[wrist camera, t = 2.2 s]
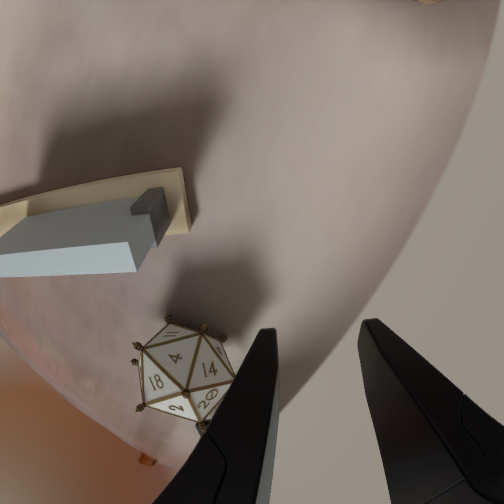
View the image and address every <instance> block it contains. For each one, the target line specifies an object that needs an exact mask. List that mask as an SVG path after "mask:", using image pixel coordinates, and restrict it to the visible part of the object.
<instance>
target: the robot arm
mask: <svg viewBox="0 0 504 504" xmlns="http://www.w3.org/2000/svg"><path fill="white" fill-rule="evenodd" d="M358 352H359V358H360V363H361V369H362V375H363V382H364V388H365V394H366V398H367V403H368V406H369V410H370V414H371V418H372V421H373V425H374V429H375V433H376V437H377V441H378V445H379V449H380V454H381V458H382V462H383V466H384V471H385V476H386V480H387V485H388V490H389V495H390V500H391V504H504V426H503V425H502V424H500V423H499V422H497V421H496V420H495V419H494V418H493V417H491V416H490V415H489V414H487V413H486V412H485V411H484V410H483V409H482V408H480V407H479V406H478V405H477V404H476V403H474V402H473V401H472V400H471V399H470V398H469V397H468V396H467V395H465V394H464V395H463V392H462V391H461V390H460V389H459V388H458V387H456V386H455V385H454V384H453V383H452V382H451V381H450V380H449V379H448V378H446V377H445V376H444V375H443V374H442V373H441V372H439V371H438V370H437V369H436V368H435V367H434V366H433V365H431V364H430V363H429V362H428V361H427V360H426V359H425V358H423V357H422V356H421V355H420V354H419V353H418V352H416V351H415V350H414V349H413V348H412V347H411V346H410V345H408V344H407V343H406V342H405V341H404V340H403V339H401V338H400V337H399V336H398V335H397V334H395V333H394V332H393V331H392V330H391V329H390V328H388V327H387V326H386V325H385V324H384V323H382V322H381V321H380V320H379V319H377V318H373V319H365V320H363V321H362V324H361V328H360V333H359V337H358ZM279 408H280V394H279V359H278V346H277V332H276V329H275V328H264V329H260V331H259V332H258V334H257V336H256V338H255V340H254V342H253V344H252V346H251V347H250V349H249V351H248V353H247V355H246V357H245V359H244V361H243V363H242V365H241V366H240V368H239V370H238V372H237V374H236V376H235V378H234V379H233V381H232V383H231V385H230V387H229V389H228V390H227V392H226V394H225V396H224V398H223V400H222V401H221V403H220V405H219V407H218V409H217V410H216V412H215V414H214V416H213V417H212V419H211V421H210V423H204V424H206V425H205V426H206V427H207V428H206V431H205V432H203V431H202V430H200V427H199V422H198V423H196V428H197V430H198V432H199V434H200V436H201V438H200V440H199V442H198V443H197V445H196V447H195V448H194V450H193V451H192V453H191V454H190V456H189V458H188V459H187V461H186V462H185V463H184V465H183V466H182V467H181V469H180V470H179V472H178V473H177V474H176V475H175V477H174V478H173V479H172V481H171V482H170V483H169V484H168V485H167V486H166V488H165V489H164V490H163V491H162V492H161V493H160V495H159V496H158V497H157V498H156V500H154V502H153V503H152V504H269V501H270V493H271V485H272V476H273V468H274V458H275V450H276V441H277V431H278V421H279Z"/></svg>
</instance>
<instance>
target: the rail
mask: <svg viewBox="0 0 504 504" xmlns="http://www.w3.org/2000/svg"><path fill="white" fill-rule="evenodd" d="M157 187H164V192H165V197H166V202H167V207H168V212H169V217H170V221H171V224H170V226H169V228H168V229H167V231H166V233H165V235H172V234H183V233H189V232H190V229H191V227H192V224H191V218H190V213H189V207H188V201H187V196H186V190H185V184H184V177H183V171H182V167H177V168H170V169H163V170H156V171H149V172H143V173H137V174H131V175H125V176H119V177H114V178H108V179H103V180H98V181H93V182H88V183H83V184H79V185H74V186H70V187H65V188H61V189H57V190H53V191H48V192H44V193H40V194H37V195H33V196H29V197H25V198H22V199H18V200H14V201H11V202H7V203H4V204H1V205H0V237H1V236H2V235H3V234H5V233H6V232H7V231H8V230H10V229H11V228H12V227H13V226H15V225H16V224H17V223H18V222H20V221H21V220H22V219H24V218H25V217H28V216H32V215H37V214H42V213H47V212H52V211H57V210H63V209H68V208H74V207H79V206H85V205H91V204H97V203H103V202H109V201H116V200H123V199H129V198H136V197H140V196H141V195H142V194H143V193H144V192H145V191H146V190H147V189H150V188H157Z"/></svg>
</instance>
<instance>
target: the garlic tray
mask: <svg viewBox="0 0 504 504" xmlns="http://www.w3.org/2000/svg"><path fill="white" fill-rule="evenodd" d="M415 1H419V2H422V3H426V4H429V5H431V4H434V3H437V2H440V1H443V0H415Z"/></svg>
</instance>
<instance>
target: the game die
mask: <svg viewBox="0 0 504 504" xmlns="http://www.w3.org/2000/svg"><path fill="white" fill-rule="evenodd" d="M165 319H166V320H165V321H166V322H167V325H166V326H165V327H164V328H163V329H162V330H160V331H159V332H158V333H157V334H156V335H155V336H154V337H153V338H152V339H151V340H150V341H148V342H147V343H146V344H145V345H144V346H142V345H141V343H139V342H135V343H132V344H133V346H134V348H135V349H137V350H141V352H140V356H139V361H138V360H136V359H133V360H131V362H132V364H133V365H138V367H139V377H140V385H141V393H142V400H143V403H142V404H139V405H138V406H137V408H136V412H140V411H141V412H142V410H144V408H145V407H149V408H152V409H155V410H158V411H161V412H164V413H167V414H171V415H174V416H177V417H181V418H184V419H188V420H191V421H195V422H199V427H200V430H202V431H203V432H205V431H206V428H207V427H206V426H205V425H206V424H204V423H203V421H204V420H205V419H206V417H207V416H208V415H209V414H210V413H211V412H212V410H213V409H214V408H215V407H216V406H217V405H218V403H219V402H220V401H221V400H222V399H223V397H224V396H225V394H226V392H227V390H228V389H229V387H230V385H231V383H232V381H233V379H234V378H235V374H234V372H233V369H232V367H231V365H230V362H229V360H228V357H227V355H226V352H225V350H224V348H223V345H222V342H225V340H227V335H222V336H221V337H220V339H216V338H214V337H212V336H210V335H208V334H205V332H206V331H207V329H208V327H207V324H206V323H205V324H203V325H200V328H199V330H200V331H197V330H194V329H190V328H187V327H184V326H180V325H177V324H174V323H172V322H171V321H172V319H171V316H170V315H169V314H168V313H167V314H166V317H165Z"/></svg>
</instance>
